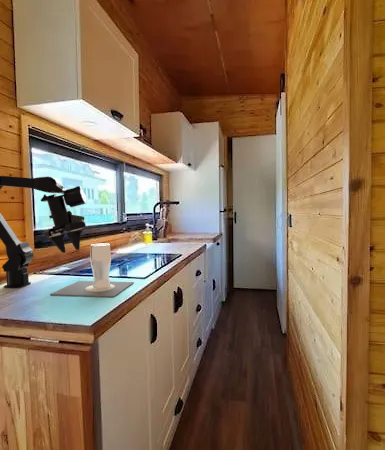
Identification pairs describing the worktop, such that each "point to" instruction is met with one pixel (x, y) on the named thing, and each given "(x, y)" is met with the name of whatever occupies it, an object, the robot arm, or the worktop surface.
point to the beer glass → (100, 265)
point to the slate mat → (92, 289)
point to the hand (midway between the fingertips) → (70, 251)
